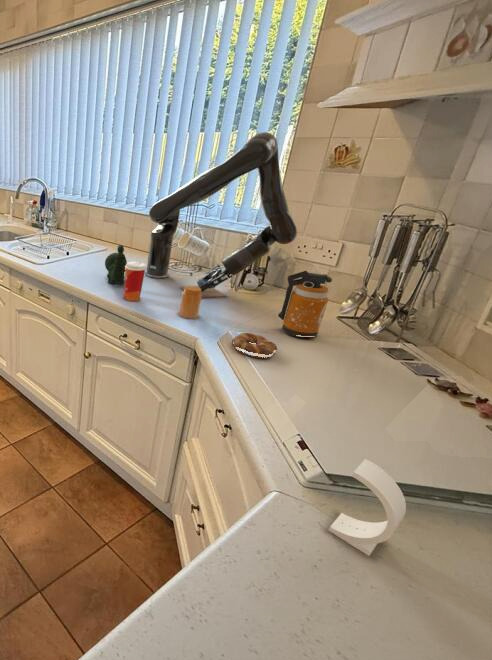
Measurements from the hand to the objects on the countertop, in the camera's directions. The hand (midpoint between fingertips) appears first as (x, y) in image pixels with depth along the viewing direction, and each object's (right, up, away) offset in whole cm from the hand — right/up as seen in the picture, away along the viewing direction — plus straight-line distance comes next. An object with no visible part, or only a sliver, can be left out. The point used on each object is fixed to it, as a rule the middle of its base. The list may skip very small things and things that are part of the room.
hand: (199, 286), depth 158 cm
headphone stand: (-25, -43, -98) cm, 110 cm away
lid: (+2, +2, -2) cm, 3 cm away
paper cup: (-29, -5, -5) cm, 30 cm away
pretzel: (-7, -21, -44) cm, 49 cm away
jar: (-14, -11, -20) cm, 27 cm away
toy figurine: (-29, +3, +16) cm, 33 cm away
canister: (+13, -16, -34) cm, 40 cm away
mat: (+2, -2, 0) cm, 3 cm away
